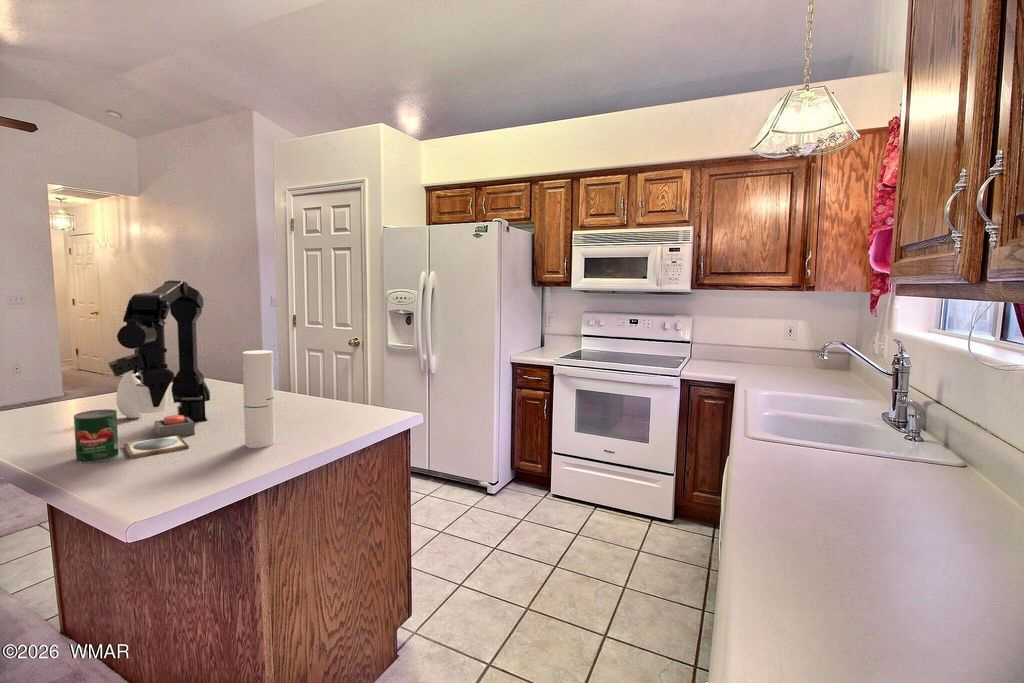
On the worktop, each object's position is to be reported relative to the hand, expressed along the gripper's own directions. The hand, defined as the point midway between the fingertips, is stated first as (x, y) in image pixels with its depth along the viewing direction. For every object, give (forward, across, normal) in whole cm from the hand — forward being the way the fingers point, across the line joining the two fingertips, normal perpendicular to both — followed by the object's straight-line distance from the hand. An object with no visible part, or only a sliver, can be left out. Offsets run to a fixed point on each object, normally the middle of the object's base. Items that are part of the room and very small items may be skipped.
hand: (153, 404), depth 125 cm
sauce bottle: (+12, -38, 0) cm, 40 cm away
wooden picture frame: (+11, 0, 0) cm, 11 cm away
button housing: (+11, -11, +6) cm, 17 cm away
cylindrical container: (+12, +13, +21) cm, 27 cm away
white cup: (+2, 0, 0) cm, 2 cm away
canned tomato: (+12, +1, -12) cm, 16 cm away
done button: (+9, -11, +6) cm, 15 cm away
